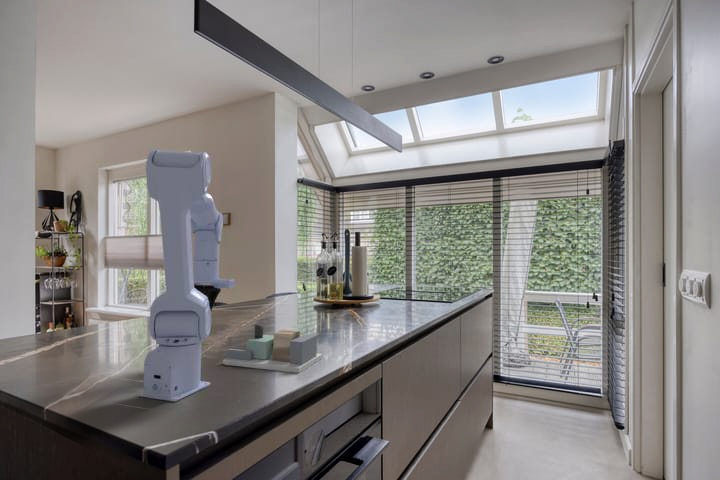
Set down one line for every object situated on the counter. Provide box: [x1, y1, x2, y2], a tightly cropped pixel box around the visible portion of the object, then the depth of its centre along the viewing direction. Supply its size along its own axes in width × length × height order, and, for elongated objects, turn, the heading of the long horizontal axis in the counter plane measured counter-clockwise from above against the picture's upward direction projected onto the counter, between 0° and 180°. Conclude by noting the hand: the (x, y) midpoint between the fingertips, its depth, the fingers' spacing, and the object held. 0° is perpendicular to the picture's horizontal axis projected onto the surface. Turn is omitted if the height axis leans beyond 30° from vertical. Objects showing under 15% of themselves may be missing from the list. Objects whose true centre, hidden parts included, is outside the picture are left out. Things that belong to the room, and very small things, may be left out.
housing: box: [272, 328, 301, 361], centre depth 94 cm, size 4×6×6 cm
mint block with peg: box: [246, 323, 274, 360], centre depth 95 cm, size 7×5×7 cm
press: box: [222, 334, 323, 374], centre depth 94 cm, size 13×19×6 cm
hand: (204, 317), depth 94 cm, fingers closed
